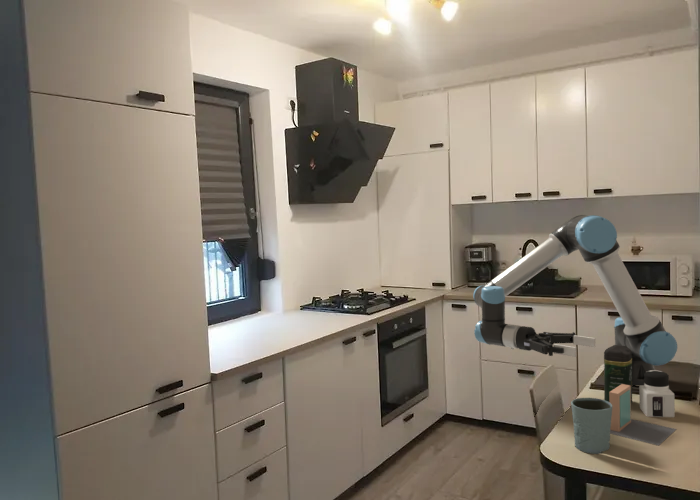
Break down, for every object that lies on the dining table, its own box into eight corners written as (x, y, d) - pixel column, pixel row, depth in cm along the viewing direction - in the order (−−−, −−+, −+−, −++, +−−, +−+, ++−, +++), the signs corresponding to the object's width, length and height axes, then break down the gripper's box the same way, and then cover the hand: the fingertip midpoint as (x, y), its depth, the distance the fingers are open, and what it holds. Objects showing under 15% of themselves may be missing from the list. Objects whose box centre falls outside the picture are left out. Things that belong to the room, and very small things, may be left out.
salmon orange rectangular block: (622, 420, 170) (622, 383, 170) (631, 422, 169) (631, 385, 168) (610, 429, 164) (609, 392, 163) (619, 432, 162) (618, 393, 162)
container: (675, 419, 171) (674, 376, 170) (646, 418, 172) (646, 375, 171) (666, 409, 178) (665, 368, 177) (639, 409, 180) (638, 368, 179)
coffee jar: (629, 410, 179) (628, 351, 178) (602, 406, 184) (601, 349, 182) (634, 400, 187) (633, 344, 186) (608, 397, 192) (607, 342, 190)
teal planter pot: (566, 448, 155) (565, 405, 154) (580, 436, 163) (579, 394, 162) (605, 458, 148) (605, 412, 147) (618, 444, 156) (617, 401, 155)
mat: (619, 418, 174) (619, 416, 174) (676, 431, 162) (676, 429, 162) (599, 433, 164) (599, 430, 164) (658, 447, 153) (658, 445, 153)
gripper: (538, 341, 196) (602, 350, 181) (500, 357, 178) (567, 369, 163) (538, 319, 195) (602, 327, 180) (499, 333, 178) (566, 343, 163)
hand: (585, 347), depth 172 cm, fingers open, 13 cm apart
